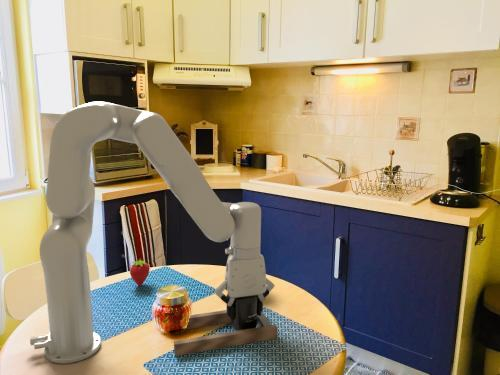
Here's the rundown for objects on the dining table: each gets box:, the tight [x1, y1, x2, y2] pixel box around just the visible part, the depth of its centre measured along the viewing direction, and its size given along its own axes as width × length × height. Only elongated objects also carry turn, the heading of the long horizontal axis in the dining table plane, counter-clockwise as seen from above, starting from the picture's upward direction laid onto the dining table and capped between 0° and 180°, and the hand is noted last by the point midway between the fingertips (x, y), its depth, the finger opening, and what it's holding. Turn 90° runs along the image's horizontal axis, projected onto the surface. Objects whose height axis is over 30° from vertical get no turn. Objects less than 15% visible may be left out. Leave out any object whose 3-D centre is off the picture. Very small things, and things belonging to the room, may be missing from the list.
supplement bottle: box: [230, 295, 258, 331], centre depth 111 cm, size 7×7×12 cm
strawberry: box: [129, 259, 150, 287], centre depth 136 cm, size 6×8×10 cm
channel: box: [173, 309, 278, 357], centre depth 110 cm, size 26×12×3 cm, turn 108°
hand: (244, 315), depth 111 cm, fingers closed on supplement bottle, 6 cm apart
